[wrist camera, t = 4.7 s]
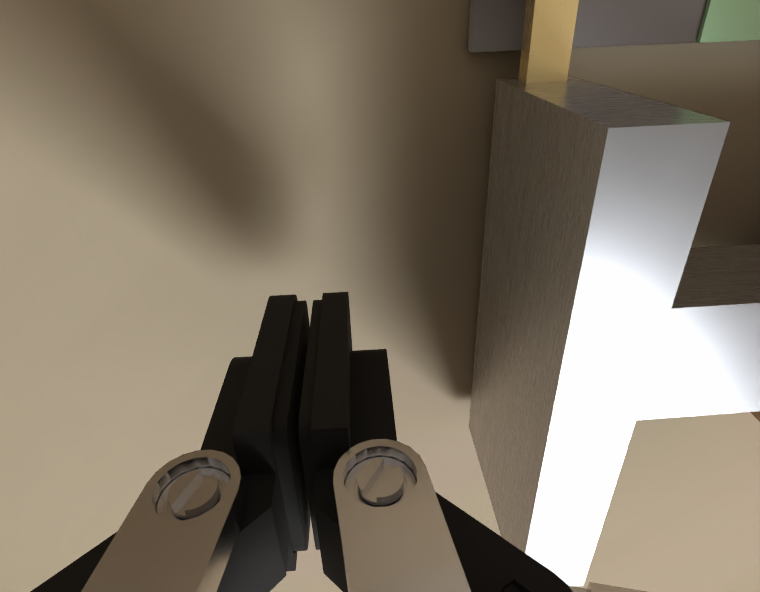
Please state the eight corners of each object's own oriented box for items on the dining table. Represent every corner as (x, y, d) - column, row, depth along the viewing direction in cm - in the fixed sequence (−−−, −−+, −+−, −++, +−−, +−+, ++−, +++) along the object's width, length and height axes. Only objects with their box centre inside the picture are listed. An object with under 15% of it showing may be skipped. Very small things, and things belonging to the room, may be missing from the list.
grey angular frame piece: (506, -51, 9) (655, -108, 5) (1020, -70, 9) (1598, -139, 5) (468, 426, 15) (518, 591, 11) (778, 404, 16) (945, 555, 11)
